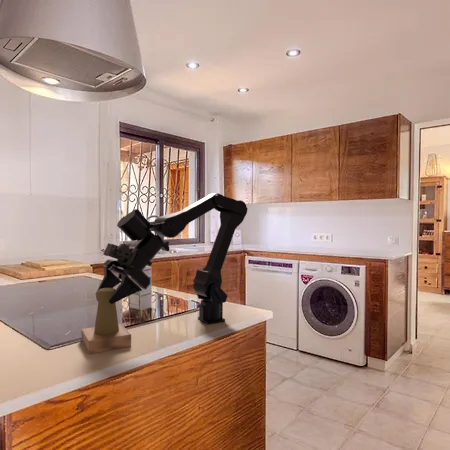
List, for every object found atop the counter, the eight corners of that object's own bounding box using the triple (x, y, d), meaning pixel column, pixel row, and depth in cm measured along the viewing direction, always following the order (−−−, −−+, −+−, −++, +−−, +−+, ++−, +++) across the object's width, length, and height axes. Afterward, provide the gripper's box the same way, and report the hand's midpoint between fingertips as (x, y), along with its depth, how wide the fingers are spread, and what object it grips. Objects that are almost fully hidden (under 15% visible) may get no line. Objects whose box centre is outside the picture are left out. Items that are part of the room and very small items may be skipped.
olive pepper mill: (119, 334, 88) (120, 290, 88) (94, 336, 86) (94, 291, 86) (118, 326, 94) (118, 285, 94) (94, 328, 92) (94, 286, 91)
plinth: (120, 334, 97) (120, 323, 97) (131, 346, 88) (131, 334, 88) (81, 340, 92) (81, 328, 92) (88, 353, 83) (88, 341, 83)
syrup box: (152, 307, 124) (152, 266, 124) (139, 311, 119) (140, 268, 119) (140, 304, 127) (140, 264, 127) (128, 308, 122) (128, 266, 122)
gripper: (110, 230, 99) (68, 273, 93) (139, 234, 84) (92, 285, 78) (136, 256, 104) (99, 299, 98) (168, 264, 90) (126, 315, 83)
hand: (103, 299), depth 89 cm, fingers open, 9 cm apart
